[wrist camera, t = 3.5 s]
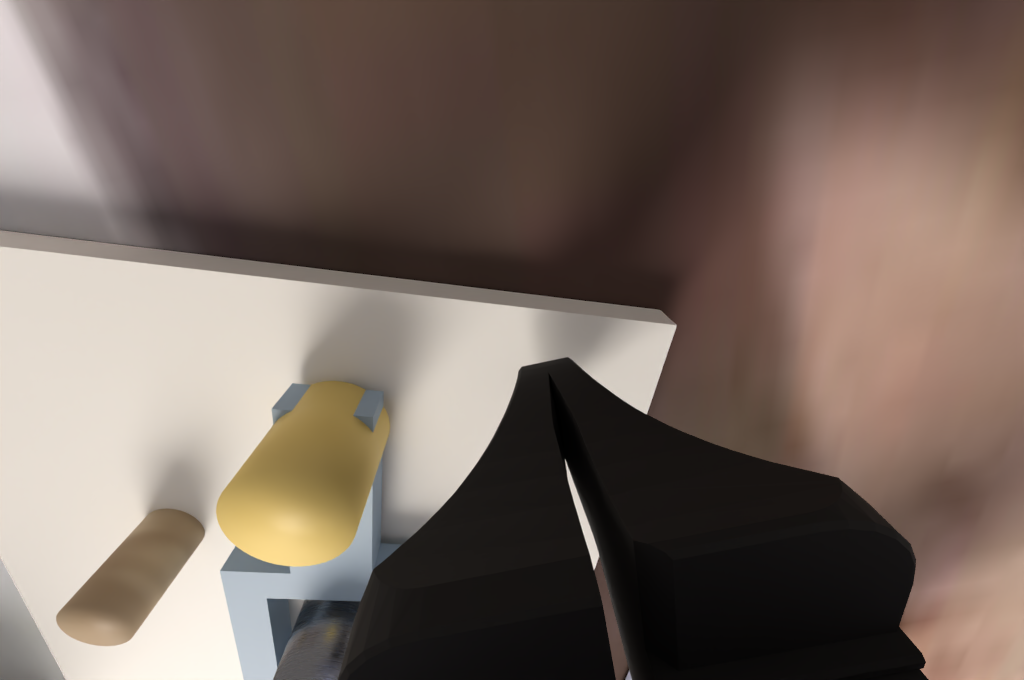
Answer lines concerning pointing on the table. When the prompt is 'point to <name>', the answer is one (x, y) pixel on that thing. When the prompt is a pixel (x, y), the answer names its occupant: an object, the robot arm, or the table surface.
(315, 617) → the post
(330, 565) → the square ring with handle
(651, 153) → the table surface
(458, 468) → the base plate
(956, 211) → the table surface
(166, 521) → the dowel
